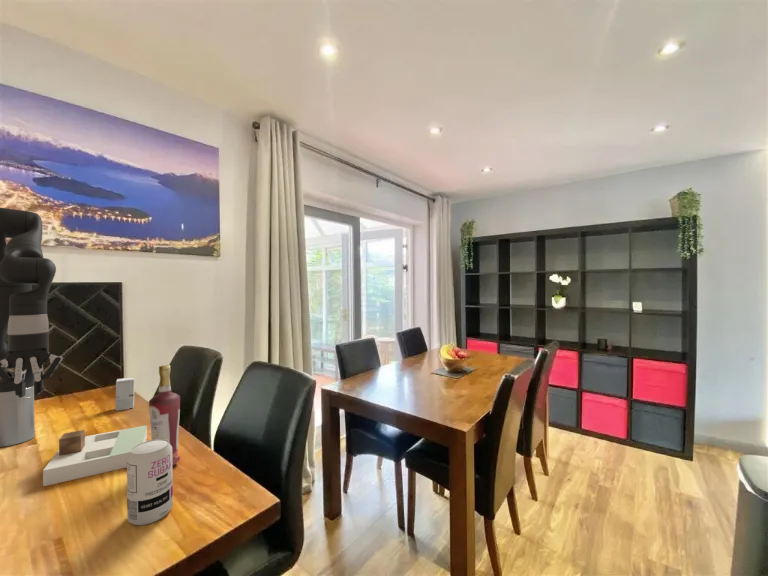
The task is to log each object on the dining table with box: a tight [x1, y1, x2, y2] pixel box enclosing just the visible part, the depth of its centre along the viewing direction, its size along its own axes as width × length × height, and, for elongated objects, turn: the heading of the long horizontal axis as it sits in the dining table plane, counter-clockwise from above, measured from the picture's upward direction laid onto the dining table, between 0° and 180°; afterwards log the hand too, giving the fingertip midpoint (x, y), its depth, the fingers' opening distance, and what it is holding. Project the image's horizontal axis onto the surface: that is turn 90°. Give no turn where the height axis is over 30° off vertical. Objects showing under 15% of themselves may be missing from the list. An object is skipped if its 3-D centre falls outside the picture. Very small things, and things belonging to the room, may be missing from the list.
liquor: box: [148, 364, 181, 468], centre depth 93 cm, size 7×7×28 cm
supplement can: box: [126, 439, 174, 526], centre depth 74 cm, size 8×8×15 cm
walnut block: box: [58, 429, 86, 456], centre depth 95 cm, size 4×4×4 cm
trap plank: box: [42, 425, 148, 487], centre depth 98 cm, size 20×20×4 cm
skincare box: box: [114, 377, 135, 412], centre depth 139 cm, size 6×4×12 cm
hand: (29, 395), depth 90 cm, fingers open, 2 cm apart
